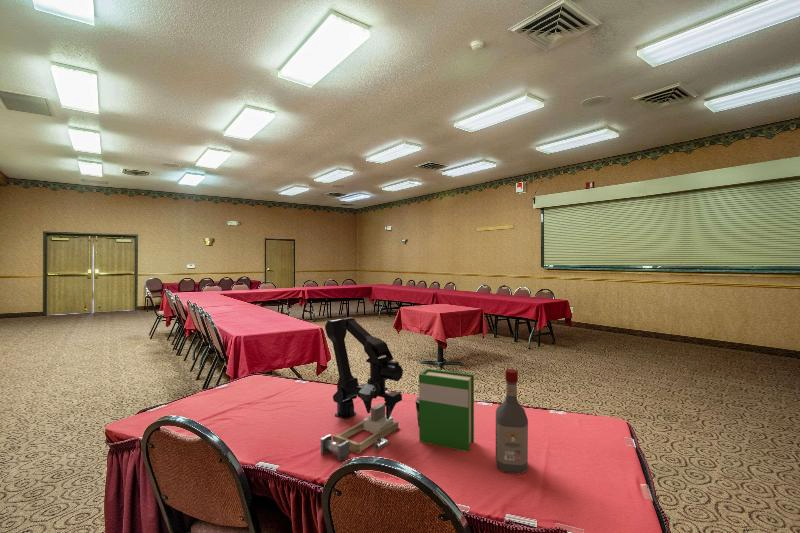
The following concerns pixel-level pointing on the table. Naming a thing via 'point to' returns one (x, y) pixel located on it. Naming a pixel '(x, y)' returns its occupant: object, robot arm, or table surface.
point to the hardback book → (446, 408)
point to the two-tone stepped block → (376, 419)
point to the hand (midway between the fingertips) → (378, 415)
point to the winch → (335, 447)
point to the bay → (368, 441)
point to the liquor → (511, 430)
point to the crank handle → (382, 443)
